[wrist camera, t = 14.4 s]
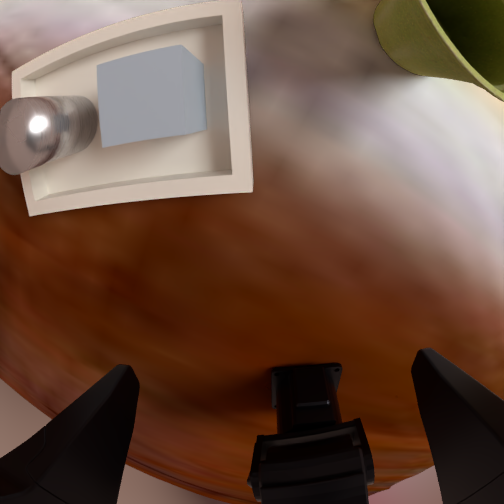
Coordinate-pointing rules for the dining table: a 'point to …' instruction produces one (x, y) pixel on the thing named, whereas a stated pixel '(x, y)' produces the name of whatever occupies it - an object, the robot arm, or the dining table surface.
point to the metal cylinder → (44, 130)
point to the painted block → (151, 96)
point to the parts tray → (153, 150)
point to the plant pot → (446, 39)
